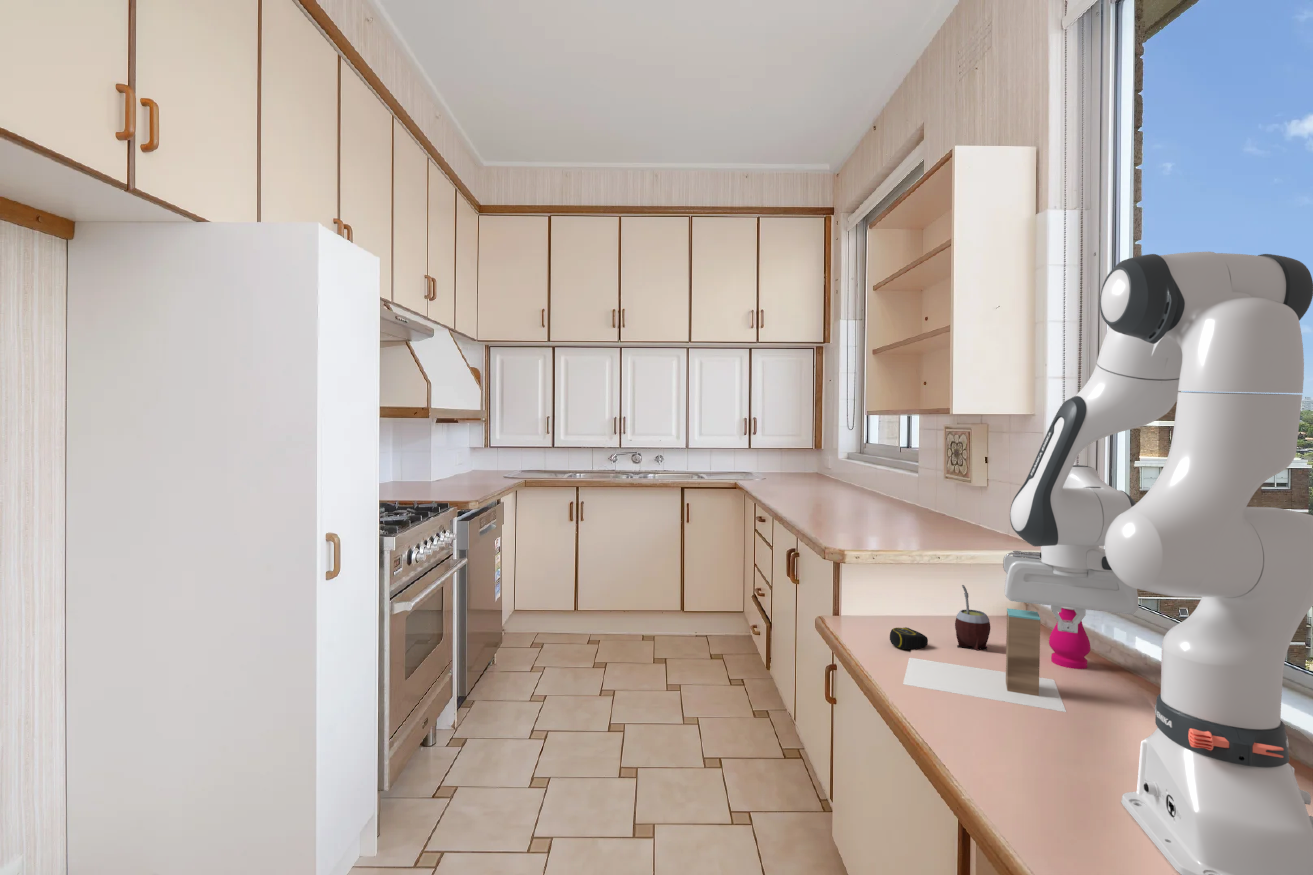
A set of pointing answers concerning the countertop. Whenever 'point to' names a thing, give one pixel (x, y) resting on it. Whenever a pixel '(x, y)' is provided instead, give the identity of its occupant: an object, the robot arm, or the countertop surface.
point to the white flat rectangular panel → (978, 683)
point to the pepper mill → (1069, 643)
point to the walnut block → (1023, 651)
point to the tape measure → (907, 638)
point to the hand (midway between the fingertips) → (1067, 631)
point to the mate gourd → (972, 628)
